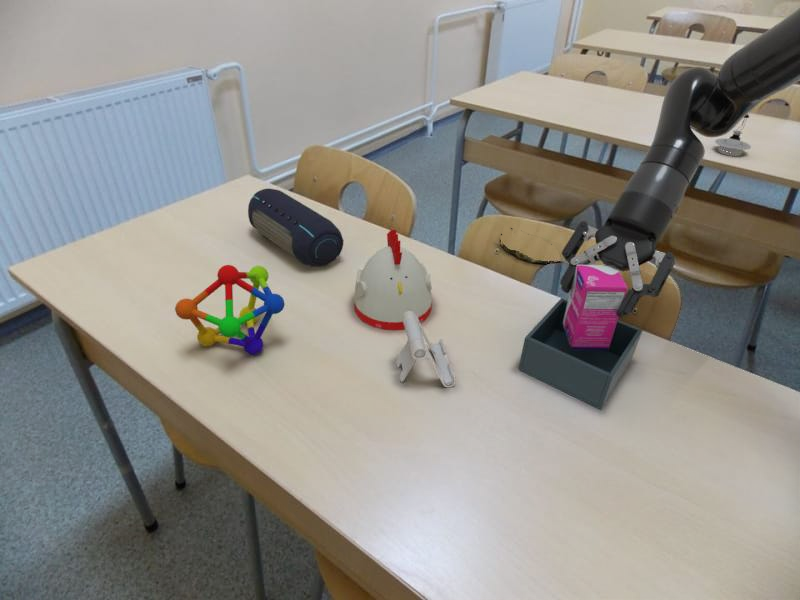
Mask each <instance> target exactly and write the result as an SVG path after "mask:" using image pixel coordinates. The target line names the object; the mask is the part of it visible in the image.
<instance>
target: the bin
mask: <svg viewBox="0 0 800 600" xmlns="http://www.w3.org/2000/svg"><path fill="white" fill-rule="evenodd" d="M567 303H568V299H565V298H563V297H561V298H560V299H559V300H558V301H557V302H556V303H555V304H554V305H553V306H552V307H551V309H549V311H548V312H547V313H546V314H545V315H544V316H543V317H542V318H541V319H540V321H539V322H538V323H537V324H536V325H535V326H534V327H533V328H532V330H531V331H529V333H527V335H526V336H525V337H524V340H523V341H524V342H523V345H522V349H521V354H520V359H519V363H518V369H517V370H519V371H521V372H522V373H525V374H526V375H528V376H531V377H533V378H535V379H537V380H539V381H541V382H543V383H545V384H547V385H549V386H551V387H553V388H556V389H557V390H559V391H562V392H563V393H565V394H568V395H569V396H572V397H574V398H575V399H578V400H580V401H582V402H584V403H586V404H588V405H590V406H592V407H594V408H596V409H598V410H600V411H602V409H603V407H604V406H605V404H606V402H607V401H608V399H609V398H610V396H611V394H612V393H613V391H614V389H615V388H616V386H617V385H618V383H619V381H620V380H621V378H622V377H623V375H624V374H625V372H626V370H627V368H628V367H629V365H630V364H631V362H632V360H633V357H634V355H635V352H636V349H637V347H638V344H639V342H640V339H641V336H642V333H643V329H642V328H639V327H637V326H634V325H632V324H629V323H626V322H624V321H621V320H619V319H618V320H617V324H616V327H615V330H614V333H613V336H612V339H611V343H610V346H609V349H608V350H593V349H571V348H570V344H569V341H568V338H567V335H566V332H565V330H564V328H563V325H562V324H563V320H564V316H565V312H566V307H567Z"/></svg>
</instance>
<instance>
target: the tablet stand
mask: <svg viewBox="0 0 800 600" xmlns="http://www.w3.org/2000/svg"><path fill="white" fill-rule="evenodd" d="M402 319H403V323H404V327H405V329H404V331H405V333H406V338H407V340H406V343H405V344H404V346H403V347H402V350H401V352H400V353H399V356H398V357H397V359H396V362H395V363H396V364H395V365H396V367H397V368H400V366H401V368H402V370H401V373H400V375H399V380H400V382H401V383H403V382H404V381H405V379H406V378H407V376H408V374H409V373H410V371H411V369H412V368H413V365H414V364H415V362H416V361H417V360H420V361H421V360H423V359H428V360H429V362H430V363H431V365H432V367H433V369H434V371H435V373H436V374H437V376H438V378H439V380H440V382H441V384H442V385H443V386H444V387H445V388H451V387H452V388H453V386H455V384H456V381H457V380H456V375H455V372H454V370H453V365H452V363H451V362H450V361H449V358H448V355H447V350H446V346H445V344H444V341H443V339H441V338H440V339H439V341H438V343H436V344H433V343H432V342H431V341H430V339H429V337H428V335H427V333H426V331H425V329H424V327H423V326H422V323H420V322H419V319H418V317H417V316H416V314H415V313H414V312H413V311H407V312H405V313H404V314H403V315H402ZM425 342H426V343H427V344H426V343H425ZM428 347H429V348H428ZM432 355H433V356H432ZM433 357H434V358H433Z"/></svg>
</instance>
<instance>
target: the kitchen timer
mask: <svg viewBox="0 0 800 600" xmlns="http://www.w3.org/2000/svg"><path fill="white" fill-rule="evenodd" d="M386 241H387V242H386V243H387V246H385V247H383V248H381V249H379V250H377V251H376V252H375V253H374V254H373V255H372V256H371V257H369V259H368V260H367V262H366V263H365V264H364V266H363V268H362V269H360V268H359V269H358V270H357V272H356V273H357V274H356V280H355V286H354V300H353V301H354V312H355V313H356V316H357V317H358V318H359V319H360V320H361V321H362V322H363V323H365V324H367V325H369V326H371V327H372V328H377V329H381V330H387V331H401V330H405V327H404V323H403V319H402V315H403V314H404V313H405V312H407V311H413V312H414V313H415V314H416V316H417V317H418V319H419V322H420V324H422V323H423V322H425V321H426V320H427V319H428V317H430V315H431V312H432V308H433V307H432V306H433V296H432V281H431V274H429V272H428V270H427V269H426V266H425V265H424V264H423V263H421V262H420V261H419V259H418V258H417V257H416V256H415V254H413V252H411V251H410V250H408V249H406V248H404V247H402V246H401V240H399V234H398V233H397V229H390V230H388V233H386Z"/></svg>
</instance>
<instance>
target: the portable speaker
mask: <svg viewBox="0 0 800 600" xmlns="http://www.w3.org/2000/svg"><path fill="white" fill-rule="evenodd" d="M247 206H248V208H247V215H248V220H249V223H250V225H251V226H252V228H254V229H255V230H256V231H257V232H259V233H260V234H261V235H263V236H264V237H266V238H267V239H269V241H271V242H272V243H274V244H276V245H277V247H280V248H281V249H283V250H284V251H285V252H287V253H288V254H289V255H291V256H292V257H293V258H295V259H296V260H298V261H299V262H300V263H301V264H303V265H305V266H309V267H317V268H318V267H325V266H328V265H329V264H331V263H333V262H334V261H336V260H337V258H338V257H339V256H340V255H341V253H342V251H343V247H344V238H343V235H342V232H341V231H340V229H339V228H338V227H337V226H336V225H335V223H333V222H332V220H330V219H328V217H325V216H323V215H322V214H320V213H319V212H317V211H315V210H313V209H312V208H310V207H309V206H307V205H305V204H303V203H302V202H301V201H299V200H297V199H295V198H294V197H291V196H290V195H288V194H287V193H285V192H283V191H282V190H280V189H275V188H263V189H260V190H258V191H256V192H255V193H254V194H253V195H252V197H251V198H250V200H249V203H248V205H247Z"/></svg>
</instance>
